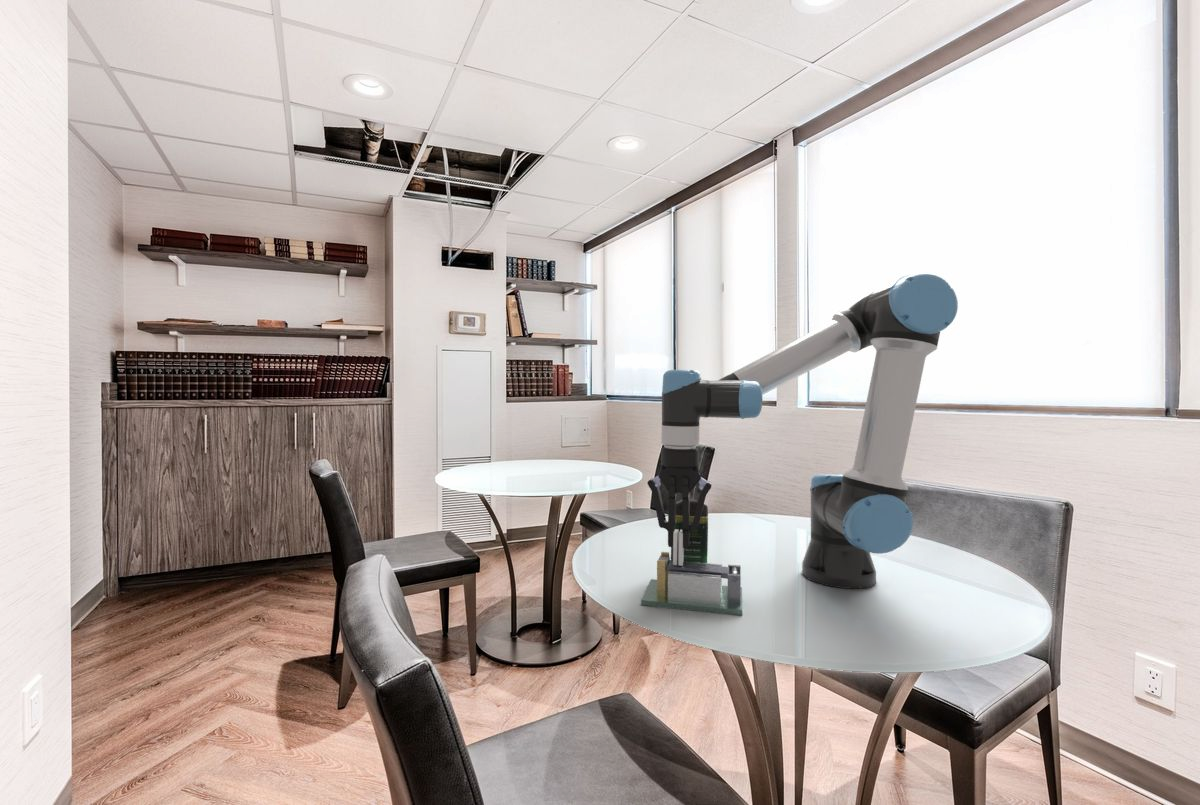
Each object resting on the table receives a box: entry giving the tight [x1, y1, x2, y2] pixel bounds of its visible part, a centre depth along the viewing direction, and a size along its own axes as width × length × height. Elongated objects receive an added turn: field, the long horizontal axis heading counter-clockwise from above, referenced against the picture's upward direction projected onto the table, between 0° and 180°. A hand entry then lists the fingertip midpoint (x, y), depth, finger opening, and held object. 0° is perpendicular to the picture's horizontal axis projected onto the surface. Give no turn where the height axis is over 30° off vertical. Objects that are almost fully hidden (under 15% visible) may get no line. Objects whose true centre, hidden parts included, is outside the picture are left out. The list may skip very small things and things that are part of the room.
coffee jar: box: [670, 498, 709, 563], centre depth 117 cm, size 10×8×19 cm
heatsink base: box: [640, 551, 743, 616], centre depth 107 cm, size 19×12×8 cm, turn 75°
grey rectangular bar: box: [657, 555, 729, 580], centre depth 107 cm, size 14×4×2 cm, turn 75°
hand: (678, 563), depth 107 cm, fingers closed
